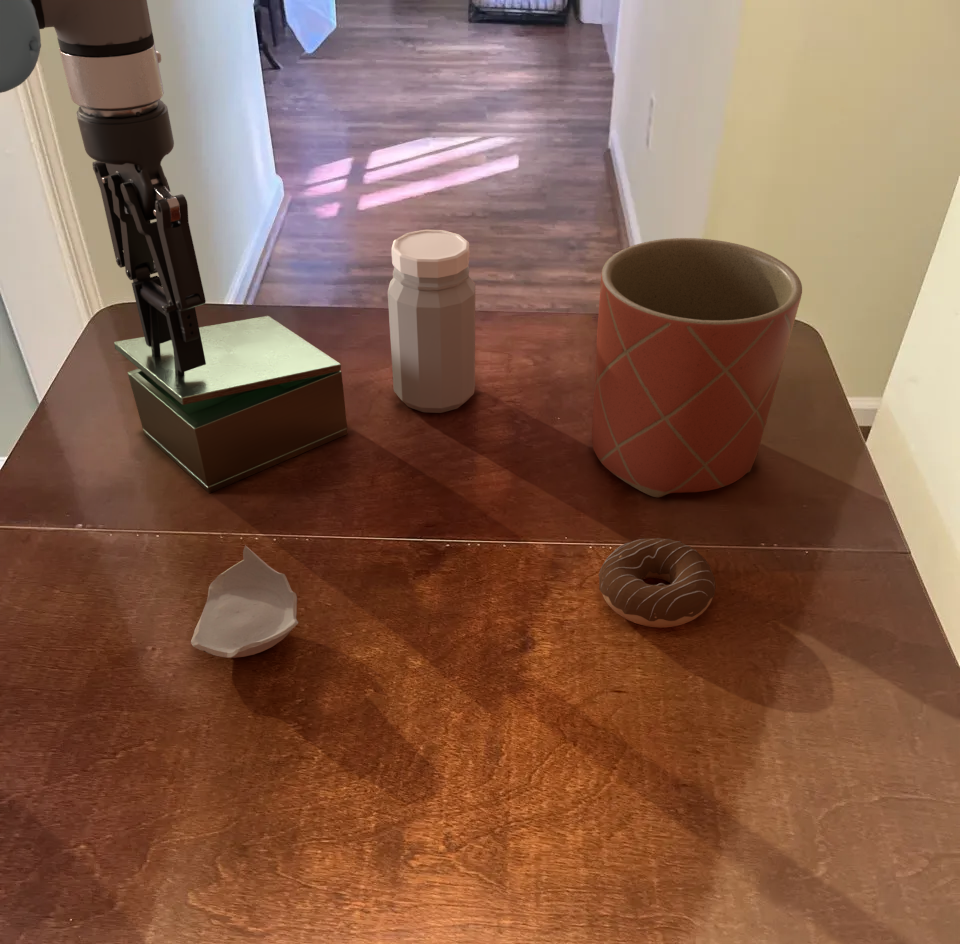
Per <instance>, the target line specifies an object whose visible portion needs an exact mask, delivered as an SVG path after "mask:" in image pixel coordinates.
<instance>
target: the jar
mask: <svg viewBox="0 0 960 944" xmlns="http://www.w3.org/2000/svg"><path fill="white" fill-rule="evenodd" d="M390 250H391V263H392V266H393V272H392V279H391V280H390V282H389V284H388V289H387V305H388V321H389V336H390V352H391V353H390V354H391V369H392V370H391V371H392V387H393V392H394V393H395V394H396V396H397V397H398V399H400V400H401V402H402V403H404V404H405V405H406V406H407V407H408V408H410V409H413V410H415V411H418V412H422V413H431V414H432V413H433V414H434V413H435V414H442V413H445V412H449V411H453V410H457V409H459V408H460V407H461V406H462V405H464V404H465V403H466V402H468V401H469V400H470V398H471V397H472V396H474V394H475V387H476V283H475V281H474V280H473V279H472V277H470V266H469V263H470V242H469V241H468V240H467V239H466V238H464V237H463V236H462V235H461V234H459V233H455V232H451V231H448V230H445V229H420V230H415V231H410V232H406V233H404V234H403V235H401V236H399V237H397V238H395V239H394V240H393V242H392V245H391V249H390Z"/></svg>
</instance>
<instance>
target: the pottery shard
mask: <svg viewBox="0 0 960 944" xmlns="http://www.w3.org/2000/svg"><path fill="white" fill-rule="evenodd" d="M242 556H243V557H242V558H243V559H242V560H241V561H239V562H237V563H235V564H234V565H232V566H231V567H229V568H227V569H226V570H225V571H223V572H222V573H220V574H218V575H216V577H215V578H214V579H213V581H212V582H211V583H210V585H209V586H208V592H207V598H206V601H205V605H204V606H203V610H202V613H201V615H200V617H199V619H198V622H197V624H196V626H195V628H194V630H193V635H192V636H191V640H190V644H191V645H192V647H193V648H195V649H196V650H199V651H203V652H204V653H206V654H209V655H212V656H215V657H221V658H228V659H229V658H230V659H235V658H245V657H249V656H254V655H256V654H259V653H262V652H265V651H266V650H269V649H271V648H273V647H274V646H276V645H278V644H279V643H280V642H281V641H283V640H284V639H285V638H286V637H287V636H288V635H289V634H290V633H291V632H292V631H293V629H294V628H295V627H296V626H297V625H298V624H299V621H298V620H297V612H298V611H297V610H298V609H297V608H298V607H297V606H298V595H297V593H296V592H295V591H293V590H292V588H291V585H290V582H289V580H288V578H287V576H286V574H285V573H282V572H278V571H277V570H275V569H274V568H273V567H271V566H270V565H269V564H267V563H266V562H265V561H264V560H263V559H262V558H261V557H260V556H259V555H257V554H256V553H255V552H254V551H253V550H251V548H250V547H248V546H247V545H246V544H245V545H244V548H243V550H242Z"/></svg>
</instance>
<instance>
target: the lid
mask: <svg viewBox="0 0 960 944" xmlns="http://www.w3.org/2000/svg"><path fill="white" fill-rule="evenodd" d="M139 293H140V296H141V297H142V298H143V299H144V300H145V301H146V302H147V306H148V317H149V328H150V339H151V347H149V346H148V345H146V341H145V337H144V336H140V337H135V338H129V339H123V340H118V341H114V342H113V343H114V350H115V351H117V352H118V353H119V354H121V355H122V356H123V357H124V358H125V359H126V360H128V361H129V362H130V363H132V364H133V366H135V367H136V368H137V369H138V368H139V369H140V370H141V371H142V372H144V373H145V374H146V375H147V376H148V377H150V378H151V379H152V380H153V381H154V382H156V383H157V384H158V385H159V386H160V387H162V388H163V389H164V390H165V391H166V392H168V393H169V394H170V395H171V396H172V397H174V398H175V399H176V400H177V401H178V402H180V403H181V404H182V405H185V404H190V403H194V402H199V401H204V400H208V399H213V398H217V397H222V396H227V395H231V394H236V393H240V392H245V391H250V390H254V389H259V388H264V387H268V386H273V385H277V384H282V383H287V382H291V381H296V380H301V379H305V378H310V377H314V376H319V375H324V374H328V373H333V372H337V371H341V372H342V364H341V363H340V362H338V361H337V360H336V359H334V358H332V357H331V356H329V355H328V354H326V353H325V352H323V351H322V350H320V349H319V348H317V347H316V346H314V345H313V344H312V343H310V342H309V341H307V340H305V339H304V338H303V337H301V336H299V335H298V334H296V333H295V332H294V331H292V330H291V329H289V328H287V327H286V326H285V325H283V324H281V323H280V322H278V321H277V320H275V319H274V318H272V317H271V316H270V315H264V316H259V317H254V318H246V319H240V320H235V321H229V322H224V323H217V324H212V325H206V326H205V325H204V326H200V327H199V331H200V336H201V341H202V346H203V351H204V356H205V361H206V364H205V365H203V366H200V367H197V368H194V369H191V370H188V371H185V372H182V373H181V372H180V371H179V370H178V367H177V363H176V358H175V354H174V349H173V345H172V340H170V341H167V342H164V343H161V344H160V340H159V328H158V316H157V310H159V311H160V312H161V313H163V314H164V315H165V316H166V313H164V312H163V310H162V308H161V306H165V305H168V302H167V299H166V296H165V293H164V290H163V287H161V286H159V285H158V284H156V283H155V282H153V281H150V280H149V281H145V282H143V283H142V284H141V286H140V289H139Z"/></svg>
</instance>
